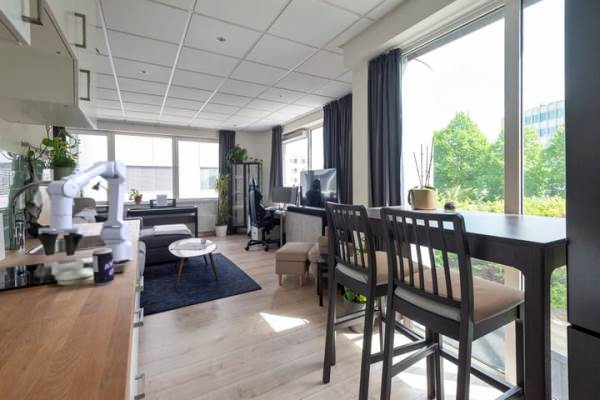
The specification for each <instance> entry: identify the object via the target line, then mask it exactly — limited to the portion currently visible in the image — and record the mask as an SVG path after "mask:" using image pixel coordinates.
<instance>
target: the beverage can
mask: <svg viewBox="0 0 600 400" xmlns="http://www.w3.org/2000/svg"><path fill="white" fill-rule="evenodd" d="M91 255H92V268H93V275H94V280H93V283H94V284H96V285H97V286H106V285H108V284H111V283H112V282H113V281H114V280H115V271H114V264H113V251H112V250H111V247H106V246H103V247H97V248H94V249H93V251H92V253H91Z"/></svg>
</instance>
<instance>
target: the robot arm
mask: <svg viewBox="0 0 600 400" xmlns="http://www.w3.org/2000/svg"><path fill="white" fill-rule="evenodd" d="M96 177H100V178H102V179H104V181H106V182H109V184H110V187H109V199H108V200H109V202H108V213H107V214H108V216H107V220H106V221H104V222H103V223H102V227H101V230H100V232H99V236H100V237H99V238H100V239H101V241H103V243H104V244H105V247H111V250H112V251H113V261H118V260H122V259H129V260H130V261H134V255H133V254H134V251H133V244H132V242H131V240H129V238H130V234H131V232H130V228H129V223H128V222H127V221H125V220H124V205H125V204H124V203H125V186H126V185H125V183H126V181H127V166H126V165H125V163H124V161H121V160H111V161H110V160H98V161H97V162H93V165H92V166H90V167H89V168H86V169H85V170H83V171H80V170H73V171H72V172H71V174H69V175H67V176H63V177H61V179H60V180H53V181H51V182H50V183H48V185H47V186H46V188H45V192H46V194H47V196H48V200H49V202H50V214H49V215H50V216H49V227H42V228H41V227H40V228H38V235H37V237H36V238H37V239H38V240H39V242H40V243H41V245H42V247H43V250H44V253H45V256H46V257H47V256H48V257H49V256H53V255H54V254H55V250H56V249H55V248H56V243H57V239H58V237H59V235H62V237H63V240H64V243H65V253H66V256H68V257H70V256H75V252H76V249H77V247H78V245H79V243H80V241H81V239H82V238H83V237H84V235H83V234H84V228H83V227H72V226H73V202H74V201H73V200H74V199H73V197H75V196H77V195H78V192H79V191H80V190H81V189H83V188H85V187H86V186H88V185H89V184H90V182H91V181H90V180H91V179H93V178H96Z"/></svg>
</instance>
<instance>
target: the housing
mask: <svg viewBox="0 0 600 400" xmlns="http://www.w3.org/2000/svg"><path fill="white" fill-rule="evenodd" d="M82 268H84V260H83V259H81V258H72V259H67V260H62V261H57V262H53V263H51V276H52V275H55V276H56V275H58V274H60V273H63V272H66V271H70V270H75V269H82Z"/></svg>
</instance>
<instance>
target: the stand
mask: <svg viewBox="0 0 600 400" xmlns="http://www.w3.org/2000/svg"><path fill="white" fill-rule="evenodd" d="M54 278H55V280H56V281H57V285H58V286H74V285H81V284H85V283H88V282H91V281H94V275H93V267H83V268H82V269H75V270H70V271H66V272H63V273H60V274H58V275H56V276H55V277H54Z"/></svg>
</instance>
